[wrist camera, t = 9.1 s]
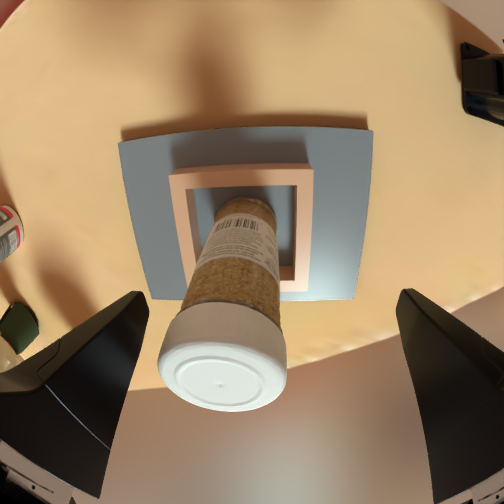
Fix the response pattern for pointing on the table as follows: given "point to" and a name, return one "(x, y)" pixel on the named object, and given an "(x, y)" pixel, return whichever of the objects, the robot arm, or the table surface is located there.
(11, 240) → the pill bottle
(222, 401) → the sprinkles bottle
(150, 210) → the bottle holder
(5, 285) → the table surface
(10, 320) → the character mug
